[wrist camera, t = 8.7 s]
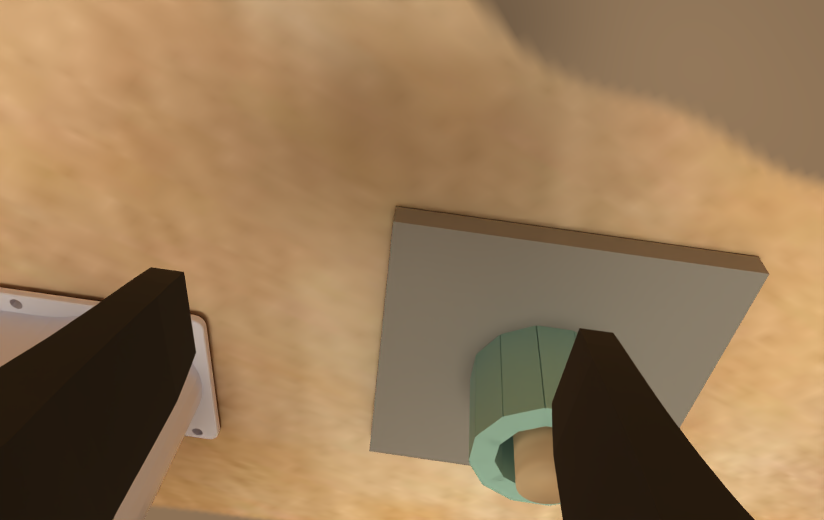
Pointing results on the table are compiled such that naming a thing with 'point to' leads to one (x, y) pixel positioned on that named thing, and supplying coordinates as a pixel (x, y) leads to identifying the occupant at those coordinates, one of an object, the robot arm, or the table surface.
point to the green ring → (513, 398)
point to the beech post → (535, 465)
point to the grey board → (539, 314)
